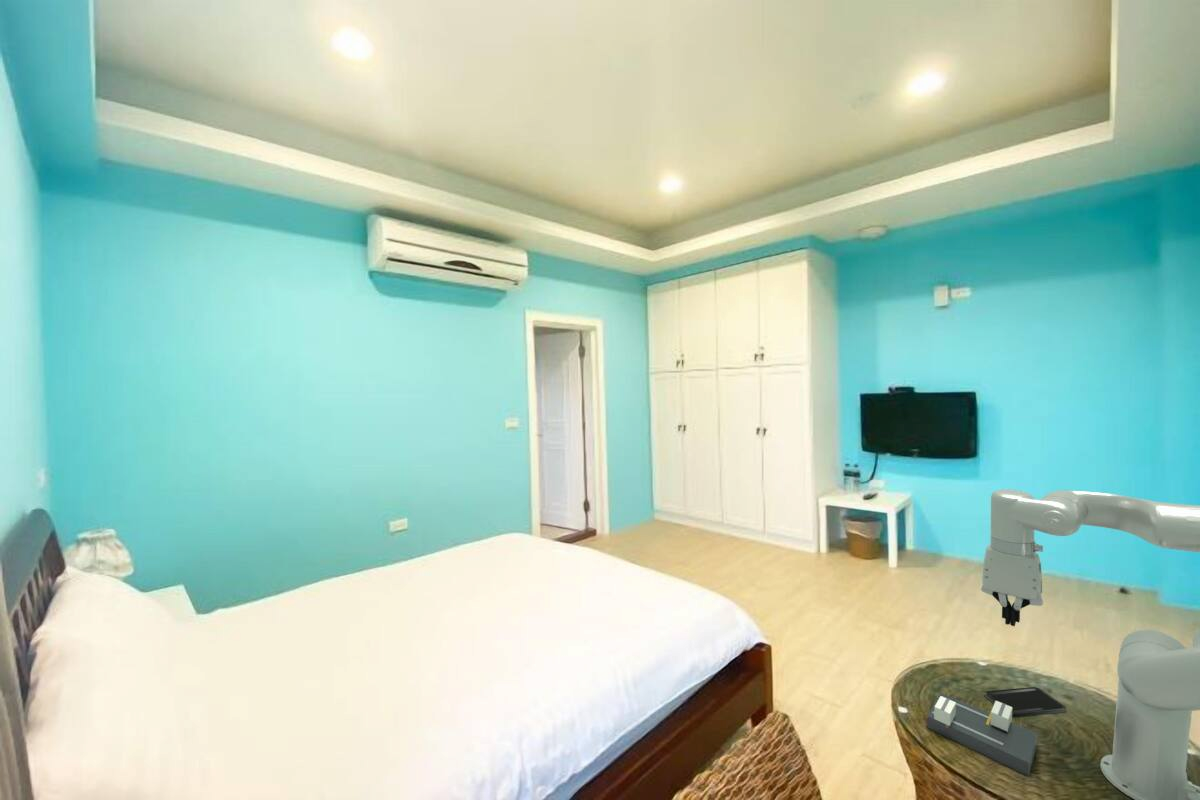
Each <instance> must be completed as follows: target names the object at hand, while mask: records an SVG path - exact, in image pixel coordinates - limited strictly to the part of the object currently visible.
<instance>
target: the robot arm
mask: <svg viewBox="0 0 1200 800" xmlns="http://www.w3.org/2000/svg"><path fill="white" fill-rule="evenodd" d="M1081 526H1089V527H1099V528H1105V529H1112V530H1117V531H1121V532H1125V533H1128V534H1131V535H1134V536H1135V537H1137V538H1140V539H1142V540H1143V541H1145V542H1147V543H1149V544H1151V545H1153V546H1156V547H1159V548H1163V549H1168V550H1176V551H1185V552H1193V553H1200V505H1198V504H1197V505H1196V504H1186V503H1185V504H1184V503H1173V502H1171V503H1170V502H1164V501H1163V502H1162V501H1156V500H1155V501H1154V500H1149V499H1145V498H1138V497H1131V496H1127V495H1121V494H1115V493H1109V492H1108V493H1106V492H1096V491H1083V490H1081V491H1080V490H1065V489H1064V490H1054V491H1051V492H1049V493H1047V494H1046V495H1044V496H1043V497H1042V498H1038V499H1037V498H1034V497H1033V495H1032V494H1030V493H1028V492H1026V491H1022V490H1017V489H1005V488H1004V489H997V490H993V492H992V493H991V495H990V543H989V544H987V546H986V549H985V553H984V558H983V565H982V566H983V567H982V581H981V582H982V584H981V585H982V586H981V588H980V590H981V592H983V593H985V594H987V595H990V596H992V597H994V599H995V600H996V601H997V602H999V605H1000V606H1001V619H1005V621H1004V622H1005V625H1010V626H1012V627H1015V626H1016V623H1020V621H1021V610H1022V609H1023V608H1025V607H1027V606H1036V607H1037V606H1038V607H1039V606H1041V607H1042V606H1043V604H1044V600H1043V597H1042V593H1043V575H1042V573H1043V572H1042V563H1041V560H1040V555H1039V553H1037V552H1042V553H1043V552H1044V551H1043V550H1044V545H1041V544H1038V543H1037V542H1035V541H1036V540H1035V531H1038V532H1041V533H1044V534H1048V535H1051V536H1055V537H1067V536H1071V535H1074V534H1076V533H1077V532H1078V531H1079V530H1080V528H1081ZM1009 596H1011V597H1014V602H1013V603H1012V604H1011V602H1010V600H1009ZM1117 662H1118V663H1117V667H1116V668H1117V670H1116V671H1117V676H1118V677H1117V678H1118V685H1117V694H1116V697H1117V698H1116V704H1115V705H1116V706H1115V719H1114V728H1113V729H1114V731H1113V732H1114V733H1113V743H1112V744H1113V745H1112V754H1108V755H1107V754H1106V755H1104V756H1103V757H1101V760H1100V771H1101V773H1102V774H1103V776H1104V777H1105V778H1106V779H1107V780H1108V781H1109V782H1110V783H1111V784H1112V785H1113V786H1114V787H1115V788H1117V789H1118V790H1119V791H1120V792H1122V793H1123V794H1124V795H1126V796H1128V797H1130V798H1132V799H1133V800H1200V786H1198V785H1197V784H1194V783H1192V781H1190V780H1188V772H1186V771H1187V760H1188V750H1189V741H1190V740H1189V739H1190V732H1191V731H1190V730H1191V725H1192V724H1191V723H1192V722H1191V721H1192V715H1193V712H1194V711H1200V627H1198V628H1197V629H1196V631H1195V632H1194V633H1193V638H1192V647H1188V648H1187V647H1186V646H1185V645H1184V644H1182V643H1181V642H1180V641H1179V640H1178V639H1176V638H1175V637H1173V636H1171V635H1169V634H1166V633H1164V632H1161V631H1159V630H1158V631H1157V630H1151V629H1140V630H1139V629H1138V630H1135V631H1132V632H1130V633H1128V634H1127V635H1126V636H1125V637H1124V639H1123V640H1122V642H1121V644H1120V648H1119V654H1118V661H1117Z"/></svg>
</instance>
